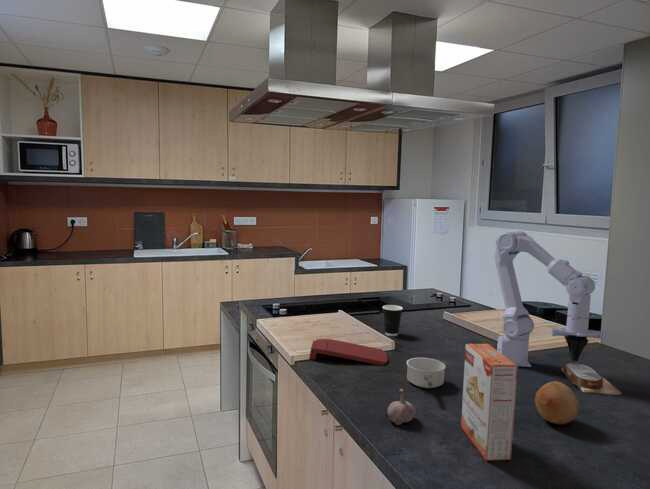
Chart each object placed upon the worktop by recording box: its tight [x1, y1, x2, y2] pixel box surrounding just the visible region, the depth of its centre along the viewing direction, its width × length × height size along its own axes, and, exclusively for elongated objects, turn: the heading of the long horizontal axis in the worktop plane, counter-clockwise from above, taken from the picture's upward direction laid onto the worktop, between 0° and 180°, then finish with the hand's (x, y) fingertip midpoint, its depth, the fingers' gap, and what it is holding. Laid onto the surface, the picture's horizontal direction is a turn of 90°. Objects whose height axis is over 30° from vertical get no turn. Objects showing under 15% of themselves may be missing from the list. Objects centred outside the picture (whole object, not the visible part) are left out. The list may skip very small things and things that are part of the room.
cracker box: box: [460, 343, 519, 462], centre depth 102 cm, size 14×6×21 cm, turn 5°
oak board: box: [560, 367, 622, 396], centre depth 141 cm, size 10×17×1 cm, turn 173°
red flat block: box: [308, 338, 389, 366], centre depth 156 cm, size 12×5×26 cm
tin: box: [563, 362, 604, 389], centre depth 141 cm, size 15×3×8 cm
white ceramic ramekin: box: [405, 357, 447, 389], centre depth 132 cm, size 12×20×6 cm, turn 172°
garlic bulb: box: [386, 388, 416, 426], centre depth 113 cm, size 8×7×8 cm
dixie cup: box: [382, 304, 404, 337], centre depth 183 cm, size 8×8×11 cm
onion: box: [534, 380, 581, 425], centre depth 114 cm, size 10×10×10 cm
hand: (574, 360), depth 141 cm, fingers closed
